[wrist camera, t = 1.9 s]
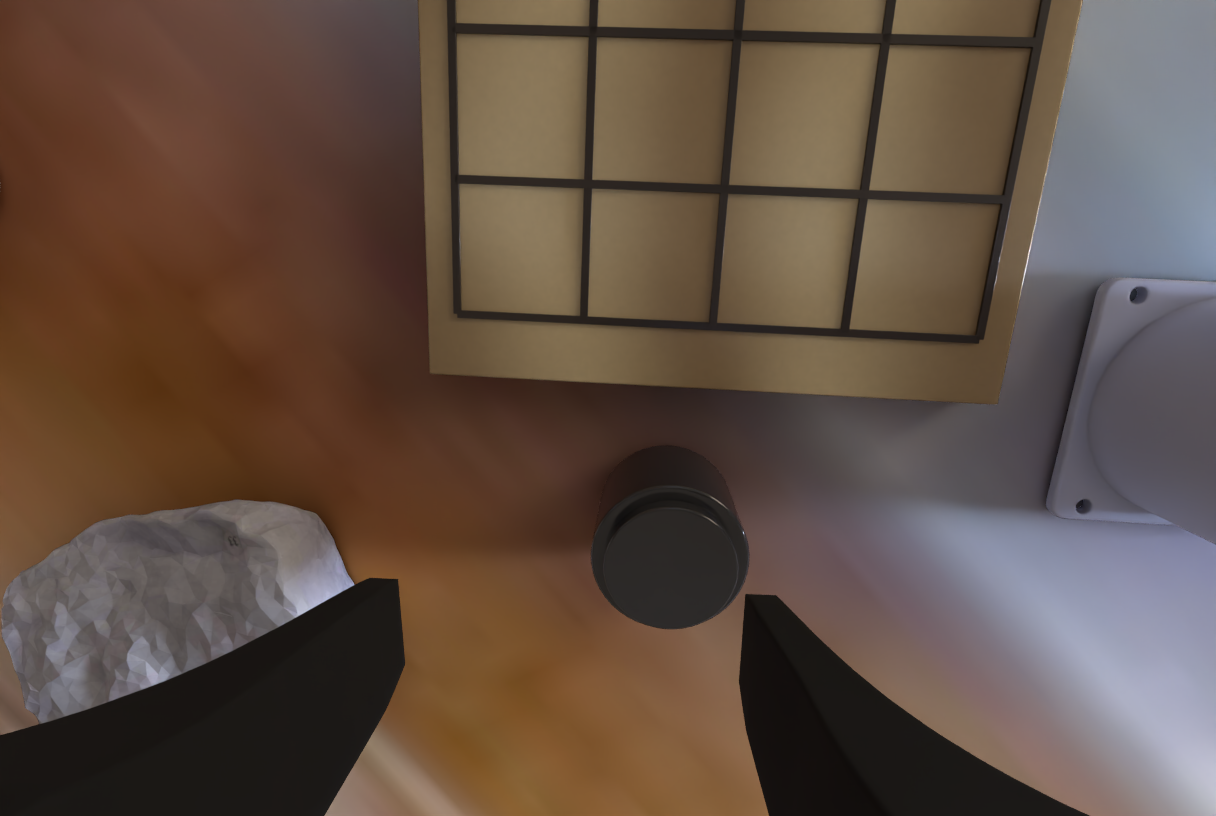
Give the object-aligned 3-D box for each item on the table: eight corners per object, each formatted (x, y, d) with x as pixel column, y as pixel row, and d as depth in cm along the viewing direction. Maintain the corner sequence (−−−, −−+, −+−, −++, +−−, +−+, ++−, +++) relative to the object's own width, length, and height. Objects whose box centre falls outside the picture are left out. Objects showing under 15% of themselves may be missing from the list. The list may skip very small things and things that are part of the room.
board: (1126, -379, 15) (1182, -454, 13) (972, 394, 20) (1000, 406, 18) (425, -372, 16) (401, -442, 14) (444, 366, 21) (427, 374, 19)
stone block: (89, 537, 25) (171, 756, 25) (-48, 573, 20) (54, 844, 20) (334, 442, 24) (421, 673, 24) (251, 457, 19) (359, 746, 19)
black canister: (734, 443, 21) (762, 499, 16) (722, 562, 22) (745, 648, 17) (604, 435, 21) (591, 488, 16) (598, 553, 22) (586, 636, 17)
